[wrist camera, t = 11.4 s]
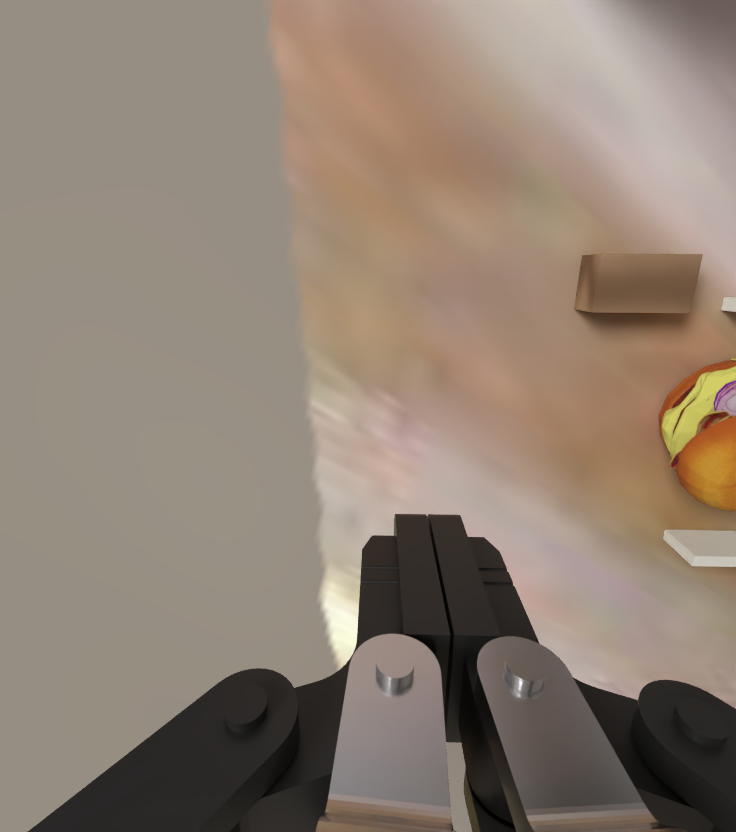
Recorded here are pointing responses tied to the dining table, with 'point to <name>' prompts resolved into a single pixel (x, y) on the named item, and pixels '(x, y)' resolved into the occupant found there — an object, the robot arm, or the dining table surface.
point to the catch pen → (706, 543)
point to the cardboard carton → (637, 283)
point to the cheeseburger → (704, 434)
